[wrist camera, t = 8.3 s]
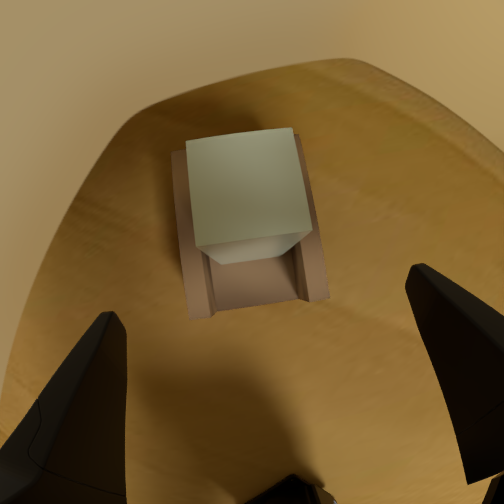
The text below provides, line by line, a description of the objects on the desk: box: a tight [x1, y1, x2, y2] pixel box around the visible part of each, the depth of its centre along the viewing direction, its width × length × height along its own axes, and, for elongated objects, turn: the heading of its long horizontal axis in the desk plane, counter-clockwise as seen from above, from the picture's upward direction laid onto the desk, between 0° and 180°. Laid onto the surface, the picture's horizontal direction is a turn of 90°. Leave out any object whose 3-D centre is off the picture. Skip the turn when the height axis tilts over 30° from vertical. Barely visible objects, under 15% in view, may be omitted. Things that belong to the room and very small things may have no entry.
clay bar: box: [186, 128, 313, 265], centre depth 15 cm, size 4×4×10 cm
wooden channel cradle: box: [171, 134, 330, 320], centre depth 19 cm, size 10×8×5 cm
